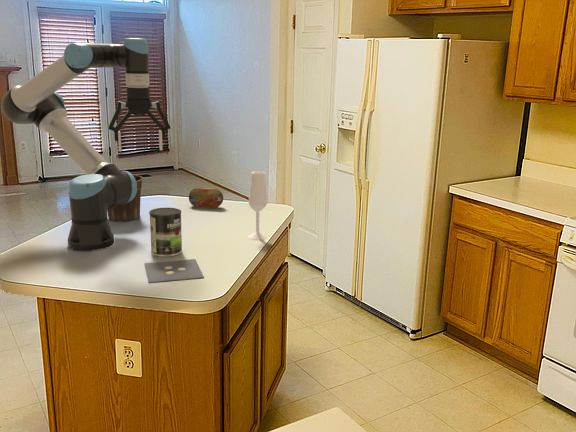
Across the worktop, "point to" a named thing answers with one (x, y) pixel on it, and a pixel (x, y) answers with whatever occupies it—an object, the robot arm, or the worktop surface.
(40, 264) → the worktop surface
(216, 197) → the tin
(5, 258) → the worktop surface
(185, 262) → the dot mat
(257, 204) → the champagne flute
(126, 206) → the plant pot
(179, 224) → the coffee can
